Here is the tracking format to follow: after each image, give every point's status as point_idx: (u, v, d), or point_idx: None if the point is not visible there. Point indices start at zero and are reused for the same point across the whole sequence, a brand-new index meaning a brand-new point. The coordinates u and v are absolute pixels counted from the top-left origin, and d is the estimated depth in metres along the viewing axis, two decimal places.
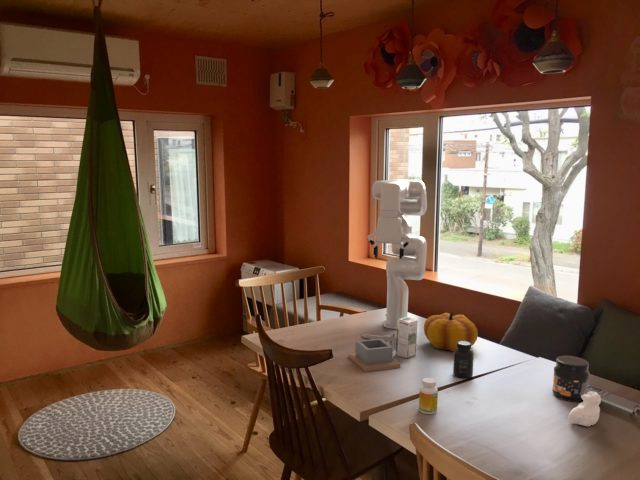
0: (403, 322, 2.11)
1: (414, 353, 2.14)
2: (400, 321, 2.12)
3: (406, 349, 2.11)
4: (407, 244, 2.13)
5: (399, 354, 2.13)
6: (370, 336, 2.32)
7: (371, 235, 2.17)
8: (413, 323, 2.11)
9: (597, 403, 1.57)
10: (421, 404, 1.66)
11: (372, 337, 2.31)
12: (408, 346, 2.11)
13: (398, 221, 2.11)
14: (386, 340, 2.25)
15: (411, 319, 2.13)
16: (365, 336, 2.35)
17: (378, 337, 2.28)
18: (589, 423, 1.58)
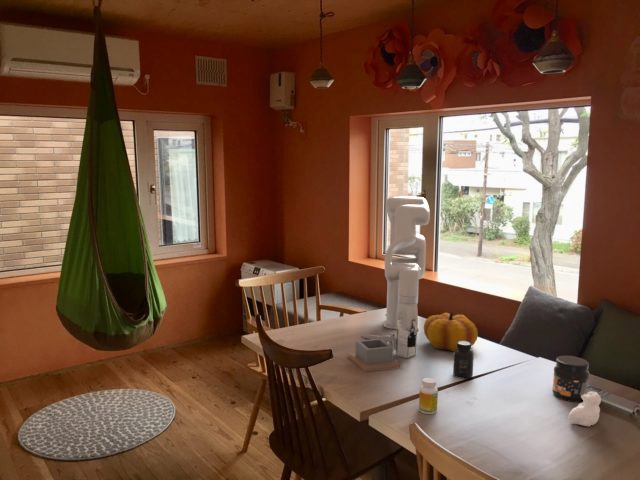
0: None
1: (414, 353, 2.14)
2: (400, 321, 2.12)
3: (406, 349, 2.11)
4: None
5: (399, 354, 2.13)
6: (370, 336, 2.32)
7: None
8: None
9: (597, 403, 1.57)
10: (421, 404, 1.66)
11: (372, 337, 2.31)
12: None
13: None
14: (386, 340, 2.25)
15: None
16: (365, 336, 2.35)
17: (378, 337, 2.28)
18: (589, 423, 1.58)
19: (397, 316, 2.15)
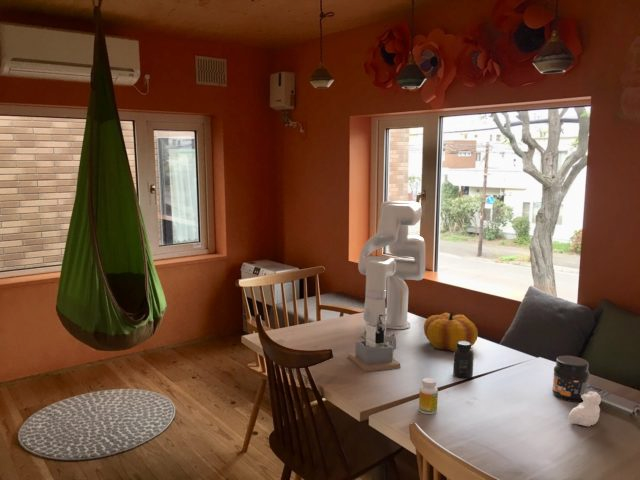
0: None
1: None
2: (368, 322, 2.04)
3: None
4: None
5: None
6: None
7: None
8: None
9: (597, 403, 1.57)
10: (421, 404, 1.66)
11: None
12: None
13: None
14: (386, 340, 2.25)
15: None
16: None
17: None
18: (589, 423, 1.58)
19: (365, 311, 2.06)
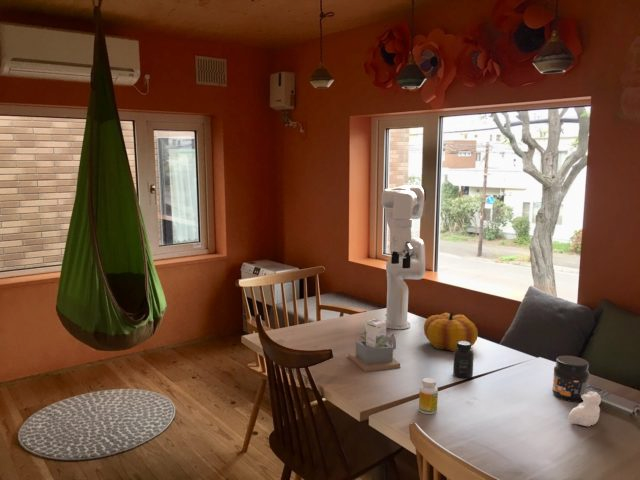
0: (371, 324, 2.03)
1: None
2: (368, 323, 2.04)
3: None
4: None
5: None
6: None
7: None
8: (381, 325, 2.03)
9: (597, 403, 1.57)
10: (421, 404, 1.66)
11: None
12: None
13: None
14: None
15: (380, 321, 2.05)
16: (364, 336, 2.35)
17: None
18: (589, 423, 1.58)
19: (392, 241, 2.21)
